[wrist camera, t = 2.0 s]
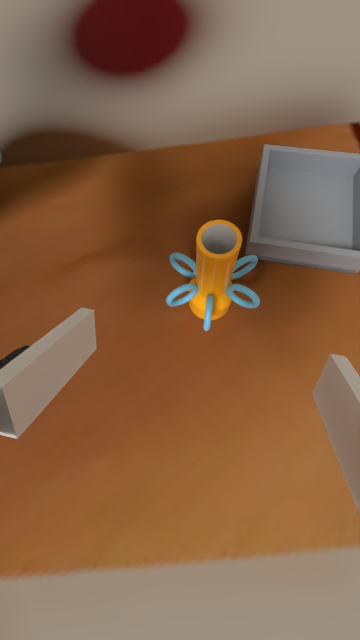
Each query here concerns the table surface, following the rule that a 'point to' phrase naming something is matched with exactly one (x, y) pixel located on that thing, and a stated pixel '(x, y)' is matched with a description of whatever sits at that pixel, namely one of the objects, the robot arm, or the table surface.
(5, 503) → the table surface
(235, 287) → the cylinder
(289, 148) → the tray
